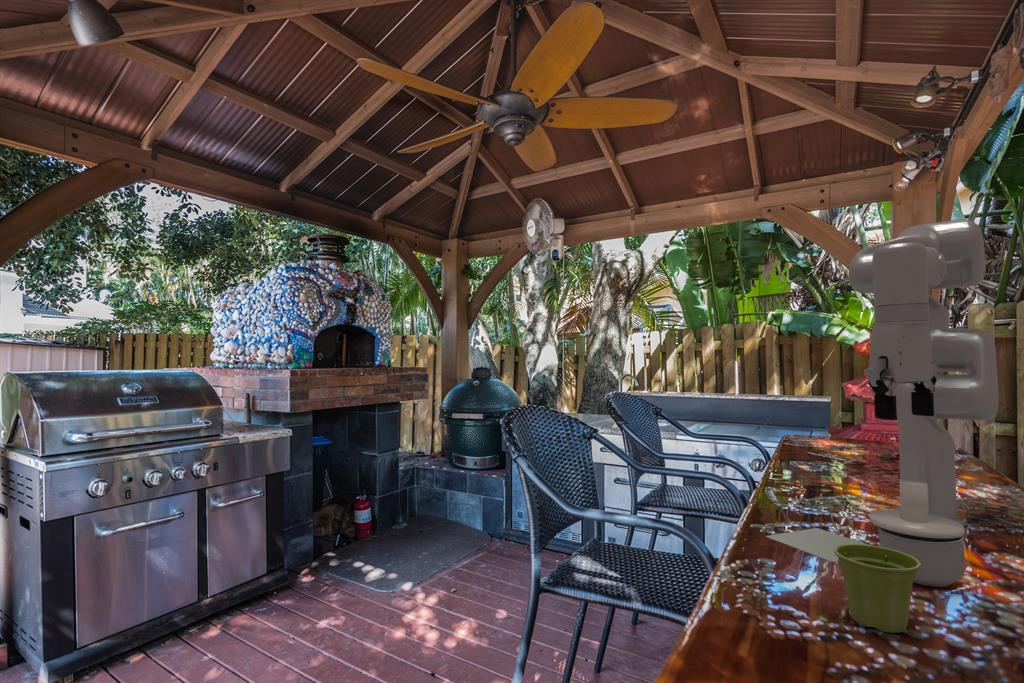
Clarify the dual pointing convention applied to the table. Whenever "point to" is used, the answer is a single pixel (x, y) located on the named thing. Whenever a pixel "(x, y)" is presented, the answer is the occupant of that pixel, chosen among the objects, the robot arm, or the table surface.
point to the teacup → (929, 556)
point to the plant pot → (878, 585)
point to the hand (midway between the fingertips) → (904, 417)
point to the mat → (814, 542)
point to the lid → (916, 515)
